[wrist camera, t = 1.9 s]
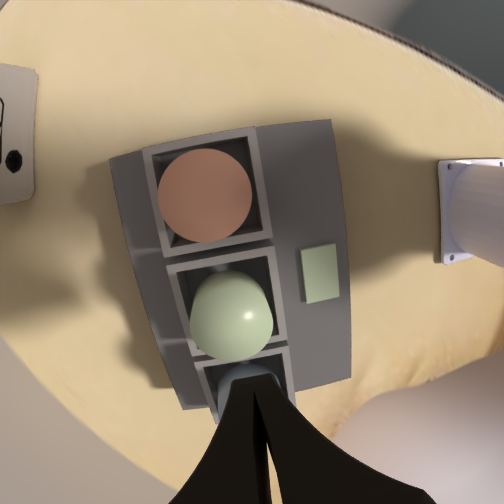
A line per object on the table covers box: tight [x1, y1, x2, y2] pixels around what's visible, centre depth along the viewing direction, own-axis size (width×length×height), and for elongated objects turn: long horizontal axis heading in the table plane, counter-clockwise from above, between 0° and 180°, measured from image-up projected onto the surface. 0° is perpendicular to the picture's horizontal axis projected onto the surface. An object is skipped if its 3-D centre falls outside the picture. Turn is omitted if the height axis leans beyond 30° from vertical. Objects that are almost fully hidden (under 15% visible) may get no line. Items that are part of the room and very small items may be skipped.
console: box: [109, 119, 351, 424], centre depth 17 cm, size 12×17×4 cm
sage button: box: [189, 270, 273, 361], centre depth 14 cm, size 4×4×2 cm
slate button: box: [218, 364, 280, 421], centre depth 16 cm, size 4×4×2 cm
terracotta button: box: [158, 149, 252, 242], centre depth 13 cm, size 4×4×2 cm
